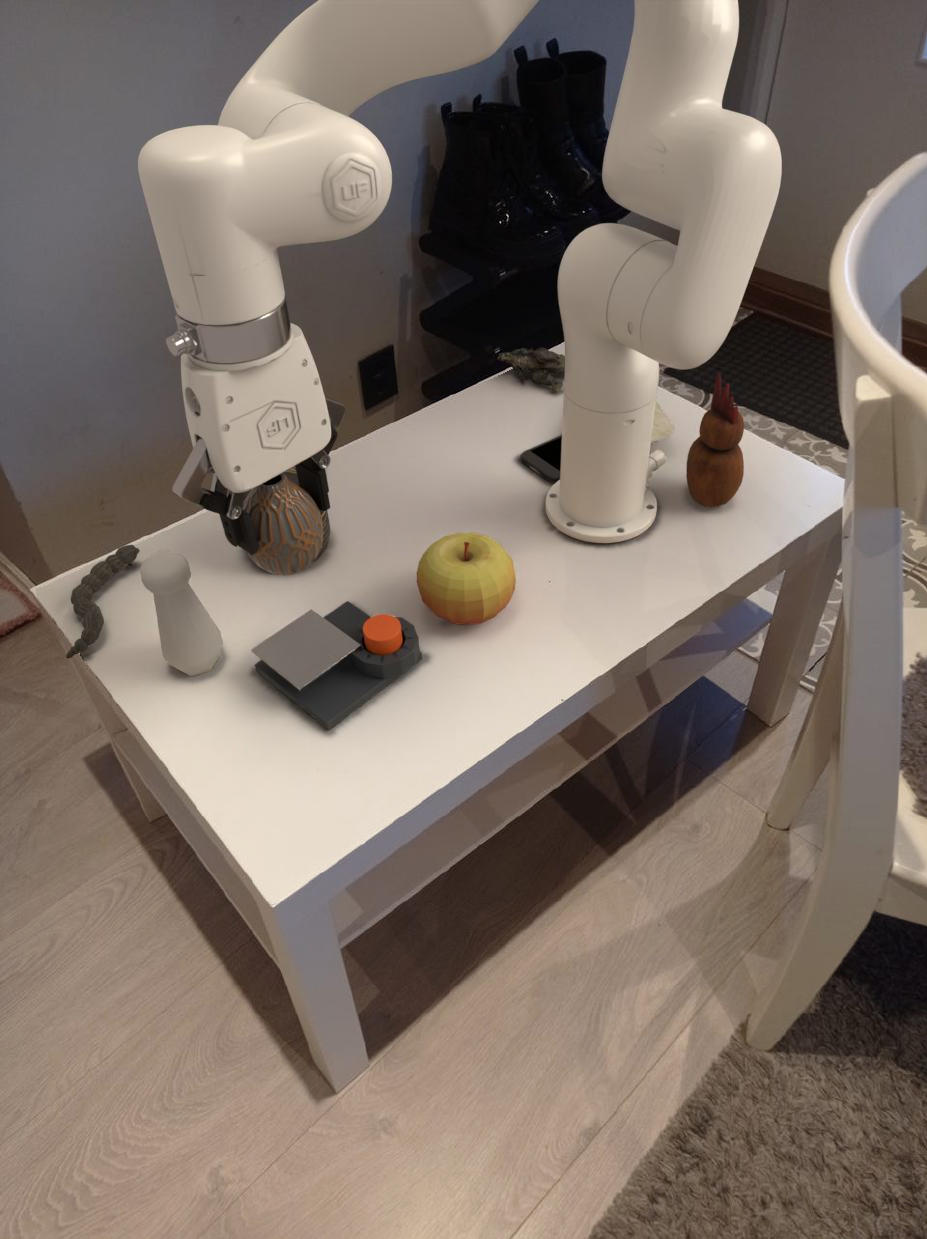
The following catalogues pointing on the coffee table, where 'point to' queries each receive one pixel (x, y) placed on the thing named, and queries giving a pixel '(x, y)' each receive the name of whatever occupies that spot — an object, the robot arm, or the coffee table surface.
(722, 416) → the wooden figurine
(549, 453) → the smartphone
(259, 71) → the robot arm
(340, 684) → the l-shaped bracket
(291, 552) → the vase
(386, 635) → the button
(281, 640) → the plate
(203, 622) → the salt shaker
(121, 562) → the toy
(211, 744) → the coffee table surface
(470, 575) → the apple
